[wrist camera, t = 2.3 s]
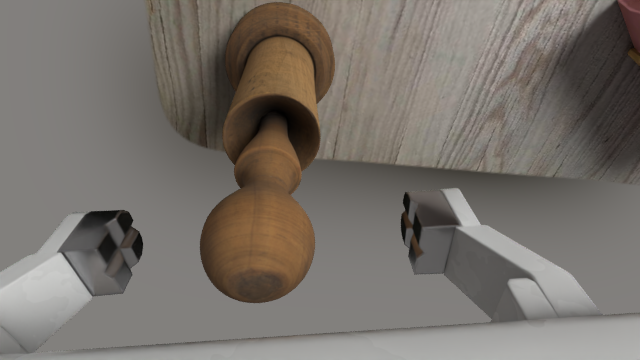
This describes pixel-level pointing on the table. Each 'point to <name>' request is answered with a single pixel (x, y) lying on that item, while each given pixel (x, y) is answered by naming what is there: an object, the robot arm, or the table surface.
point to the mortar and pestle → (268, 153)
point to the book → (632, 25)
